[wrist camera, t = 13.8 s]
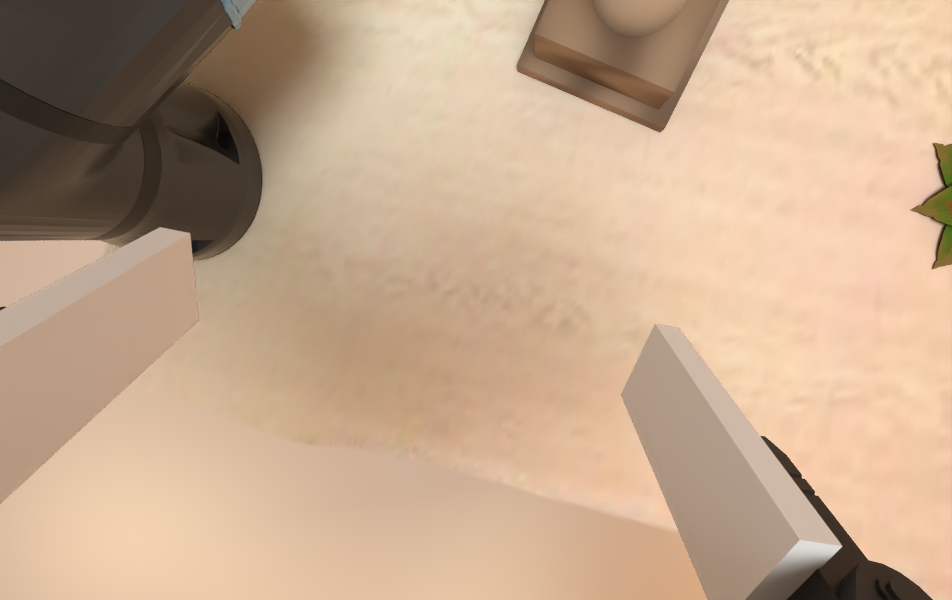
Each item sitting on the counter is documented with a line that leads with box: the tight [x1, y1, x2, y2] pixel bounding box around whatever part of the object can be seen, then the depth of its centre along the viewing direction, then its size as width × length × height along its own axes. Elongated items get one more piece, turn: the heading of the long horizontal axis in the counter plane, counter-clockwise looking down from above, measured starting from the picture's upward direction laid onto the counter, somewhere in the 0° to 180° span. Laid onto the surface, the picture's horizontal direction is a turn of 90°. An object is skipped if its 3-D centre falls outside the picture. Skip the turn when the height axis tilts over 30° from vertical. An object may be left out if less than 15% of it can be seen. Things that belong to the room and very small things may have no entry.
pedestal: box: [517, 0, 729, 132], centre depth 31 cm, size 12×12×5 cm
